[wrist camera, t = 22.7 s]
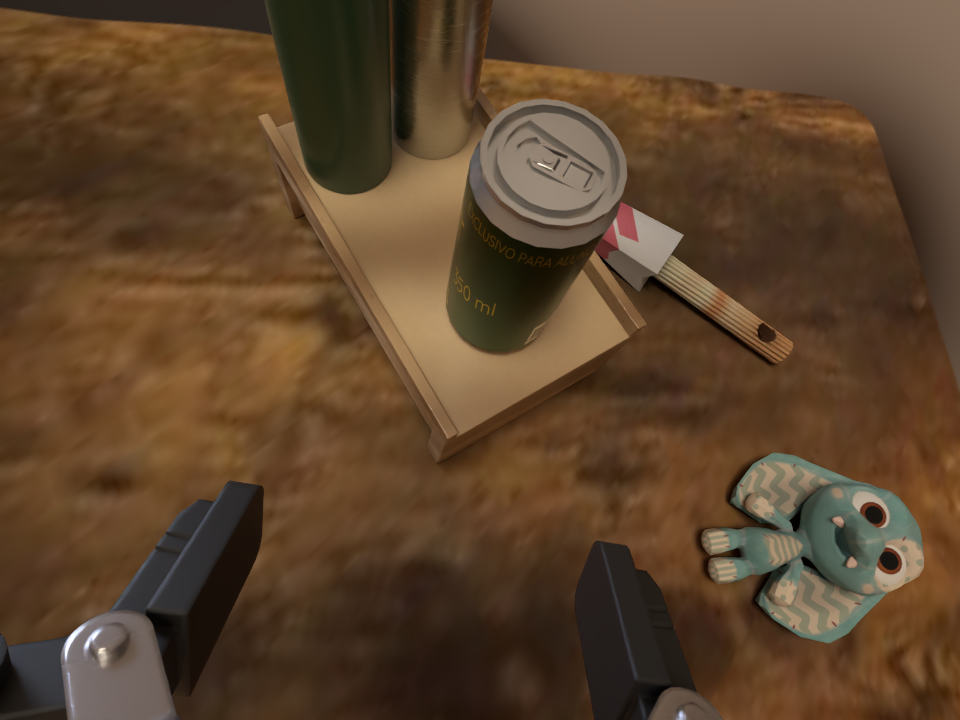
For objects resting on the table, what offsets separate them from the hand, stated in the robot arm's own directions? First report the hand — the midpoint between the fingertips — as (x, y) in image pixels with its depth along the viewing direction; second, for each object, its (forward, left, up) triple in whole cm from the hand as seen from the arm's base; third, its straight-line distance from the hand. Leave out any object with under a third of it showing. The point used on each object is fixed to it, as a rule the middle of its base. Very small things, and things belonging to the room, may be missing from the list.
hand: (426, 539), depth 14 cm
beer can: (-8, +9, -13) cm, 18 cm away
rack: (-13, +10, -20) cm, 25 cm away
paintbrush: (-7, +24, -20) cm, 31 cm away
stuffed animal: (+12, +20, -20) cm, 30 cm away
